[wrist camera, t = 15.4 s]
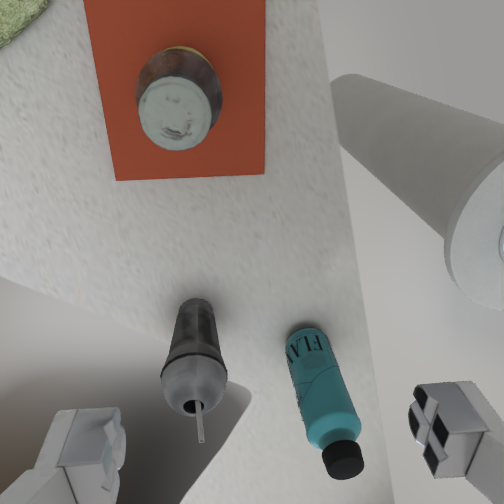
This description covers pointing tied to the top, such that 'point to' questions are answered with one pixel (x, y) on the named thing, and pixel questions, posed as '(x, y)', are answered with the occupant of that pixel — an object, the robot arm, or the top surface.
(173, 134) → the sauce bottle
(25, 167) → the top surface
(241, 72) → the condiment mat
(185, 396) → the beverage cup
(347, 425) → the beverage bottle
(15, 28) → the washcloth
